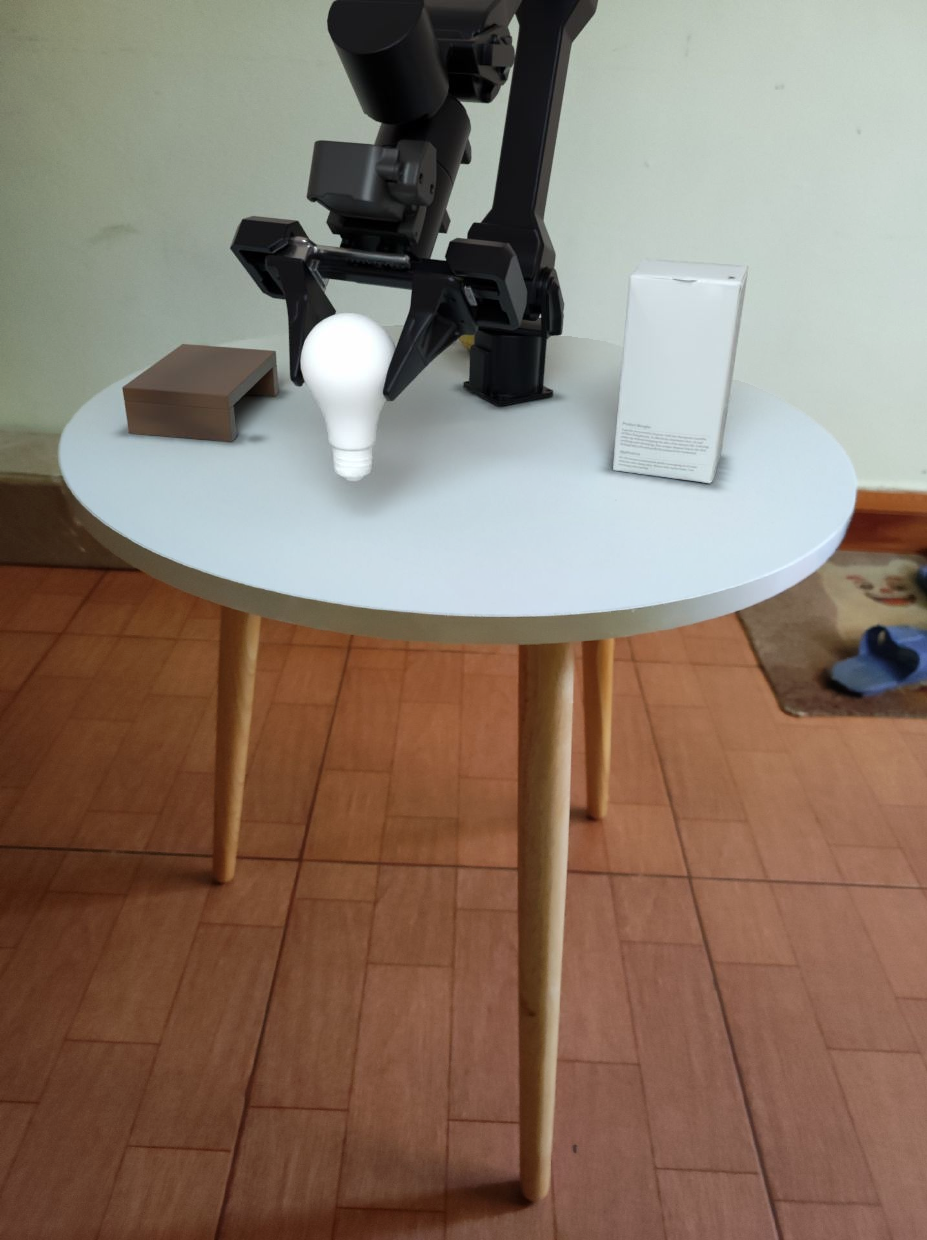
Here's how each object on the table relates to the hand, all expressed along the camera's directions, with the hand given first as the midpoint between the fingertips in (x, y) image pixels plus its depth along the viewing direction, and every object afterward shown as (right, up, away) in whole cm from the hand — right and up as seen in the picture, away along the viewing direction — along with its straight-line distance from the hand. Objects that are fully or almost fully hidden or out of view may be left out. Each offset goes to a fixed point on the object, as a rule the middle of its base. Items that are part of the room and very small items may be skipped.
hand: (340, 390), depth 62 cm
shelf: (-15, +4, +26) cm, 31 cm away
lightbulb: (0, -5, +5) cm, 7 cm away
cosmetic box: (+24, -2, +19) cm, 31 cm away
